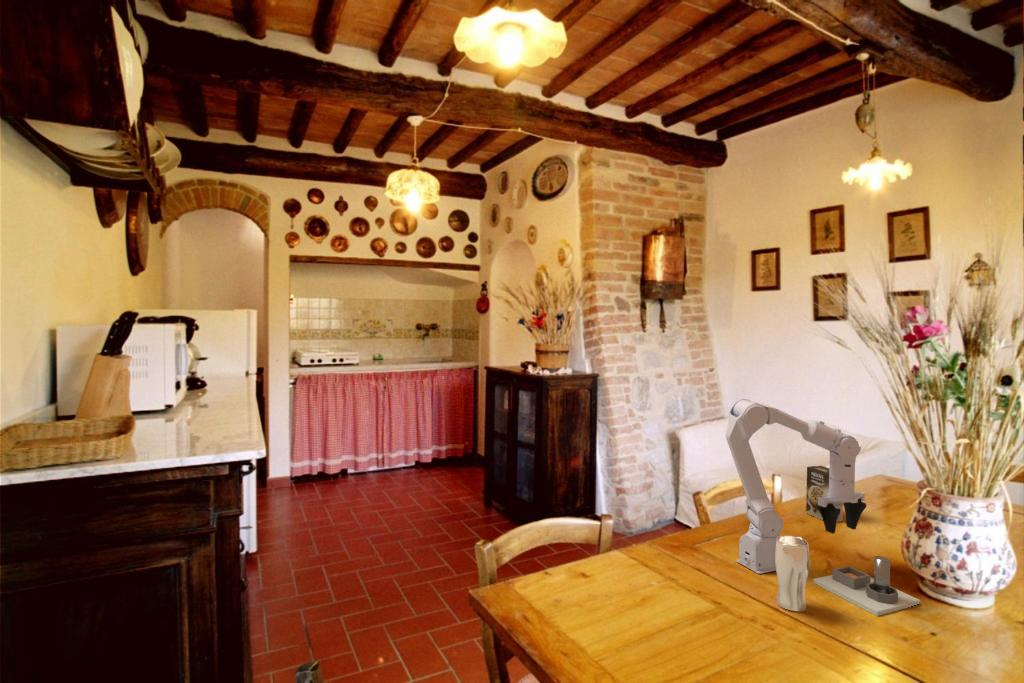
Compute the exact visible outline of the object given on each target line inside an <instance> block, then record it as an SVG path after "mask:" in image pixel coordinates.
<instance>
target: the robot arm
mask: <svg viewBox="0 0 1024 683" xmlns="http://www.w3.org/2000/svg"><path fill="white" fill-rule="evenodd" d="M775 423H777V424H778V425H780V426H781V425H782V426H784V427H785V428H788V429H791V430H794V431H796V432H798V433H800V434H801V438H802V439H803V440H804V441H807V442H808V443H810V444H813V445H816V446H817V447H819V448H822V449H825V450H827V451H829V467H828V468H829V493H828V494H826V495H824V496H822V497H819V498H818V502H817V503H816V507H817V508H818V510H819V512H820V513H821V516H822V518H823V521H822V522H823V525H824V528H825V531H826V532H828V533H830V534H833V535H834V534H836V529H837V522H836V521H837V517H838V515H839V512H840V511H841V510H840V509H837V508H835V506H833V505H834V504H840V503H843V509H844V511H845V524H846V525H845V526H846V527H847V528H848V529H851V530H857V526H858V523H859V520H860V518H861V516H862V514H863V512H864V511H865V509H866V508H867V503H866V502H864V501H865V493H864V492H862V491H861V492H860V491H855V486H856V485H855V484H856V483H855V479H856V478H855V477H856V462H857V460H856V459H857V457H858V455H859V454H860V452H861V450H862V449H861V448H862V447H861V446H860V444H859V441H858V440H857V439H856V438H855V437H854V436H851V435H848V434H846V433H843V432H842V430H841V429H839V428H832V427H831V426H828V425H826V424H825V422H824V421H821V420H819V419H817V420H814V419H813V420H808V421H803V420H802V419H800V418H798V417H796V416H794V415H791V414H789V413H787V412H785V411H782V410H780V409H778V408H776V407H773V406H770V405H768V404H764V403H760V402H756V401H754V402H753V401H751V400H750V399H747V398H741V399H738V400H736V401H735V402H734V403H733V404H732V406H731V407H730V409H729V410H728V421H727V427H726V432H725V439H726V441H727V444H728V447H729V451H730V453H731V456H732V459H733V462H734V464H735V468H736V471H737V474H738V476H739V479H740V482H741V485H742V487H743V491H744V493H745V497H746V498H745V500H744V501H745V505H746V508H745V509H746V511H745V516H746V518H747V520H748V522H749V527H748V531H747V532H746V533H745V534H743V535H741V536H740V537H739V542H738V544H739V545H738V549H739V550H738V551H739V552H738V559H736V562H737V563H739V564H740V565H742V566H743V567H746V568H747V569H749V570H751V571H752V572H755V573H757V574H758V575H760V574H761V575H762V574H765V573H770V572H774V571H775V572H776V566H775V547H776V538H777V537H778V536H780V534H781V533H782V531H783V529H784V521H783V518H782V517H781V516H780V515H779V514H778V513H777V512H776V509H775V507H774V505H773V503H772V502H771V500H770V499H769V497H768V493H767V491H766V488H765V486H764V483H763V480H762V477H761V474H760V471H759V467H758V466H757V465H758V464H757V462H756V459H755V456H754V453H753V451H752V448H751V445H750V442H749V441H750V440H751V438H752V436H753V435H754V434H755V433H756V432H757V431H759V430H760V429H761V428H763V427H764V426H765V425H768V426H770V425H773V424H775Z"/></svg>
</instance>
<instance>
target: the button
mask: <svg viewBox="0 0 1024 683" xmlns="http://www.w3.org/2000/svg"><path fill="white" fill-rule="evenodd" d="M846 575H848V576H850V577H852V578H855V577H858V576H856V575H854V574H852V573H846Z"/></svg>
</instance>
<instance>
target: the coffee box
mask: <svg viewBox="0 0 1024 683" xmlns="http://www.w3.org/2000/svg"><path fill="white" fill-rule="evenodd" d="M828 493H829V467H826V466H823V465H812V466H807V467H806V497H805V501H806V504H805V514H806V513H808V514H810V515H809V516H811V515H812V517H813V516H814V518H815V517H816V519H819V520H820V519H821V520H820V521H822V520H823V518H822V516H821V513H820V512H819V510H818V508H817V507H816V503H817V502H818V498H819V497H822V496H824V495H826V494H828ZM833 506H835V508H837V509H840V510H841V511H840V512H839V515H838V517H837V521H836V523H838V521H839V522H843V511H844V505H843V503H840V504H834V505H833ZM808 514H807V515H808Z"/></svg>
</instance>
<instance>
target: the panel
mask: <svg viewBox="0 0 1024 683" xmlns="http://www.w3.org/2000/svg"><path fill="white" fill-rule="evenodd" d="M846 573H852V574H854V575H856V576H858V577H855V578H852V577H850V576H848V575H846ZM813 584H815V585H817V586H819V587H820V588H823V589H825V590H827V591H829V592H830V593H832V594H834V595H836V596H838V597H840V598H842V599H844V600H846V601H847V602H849V603H851V604H854V605H855V606H858V607H859V608H860V609H862V610H865V611H867V612H869V613H871V614H873V615H874V616H876V617H879V616H883V615H886V614H890V613H894V612H898V611H900V610H901V611H902V610H905V609H909V608H912V607H911V606H913V607H915V606H914V605H916V606H918V605H917V604H920V605H921V599H919V598H917V597H914V596H912V595H910V594H908V593H905V592H904V591H901V590H899V589H897V588H894V586H893V587H892V586H891V585H890V589H889V594H884V593H878V592H876V591H874V577H872V576H871V575H870V574H868V573H866V572H864V571H861V570H860V569H857V568H855V567H852V566H850V565H846V566H842V567H838V568H832V574H831V575H826V576H825V575H824V576H821V577H815V578H814V579H813ZM908 607H909V608H908Z"/></svg>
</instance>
